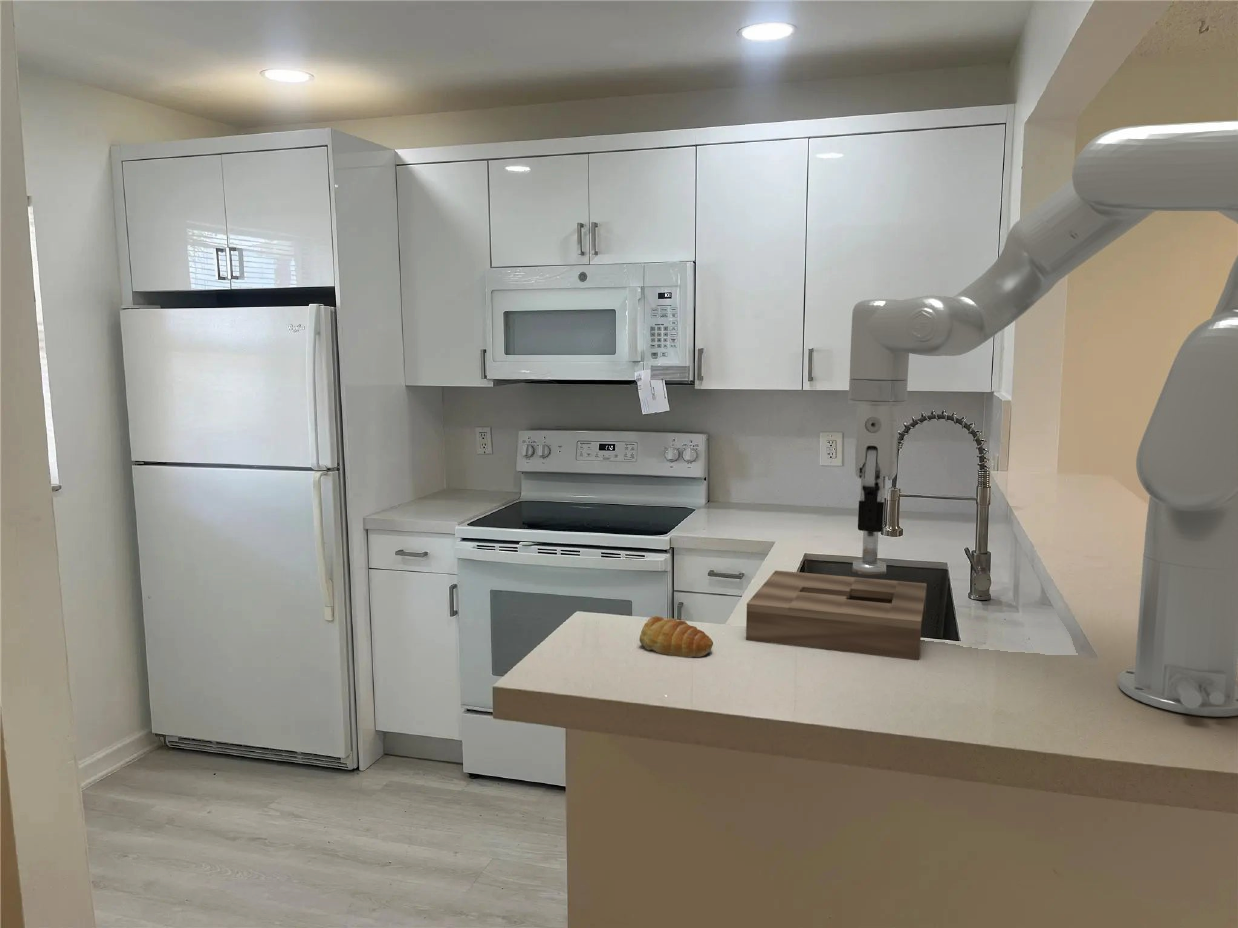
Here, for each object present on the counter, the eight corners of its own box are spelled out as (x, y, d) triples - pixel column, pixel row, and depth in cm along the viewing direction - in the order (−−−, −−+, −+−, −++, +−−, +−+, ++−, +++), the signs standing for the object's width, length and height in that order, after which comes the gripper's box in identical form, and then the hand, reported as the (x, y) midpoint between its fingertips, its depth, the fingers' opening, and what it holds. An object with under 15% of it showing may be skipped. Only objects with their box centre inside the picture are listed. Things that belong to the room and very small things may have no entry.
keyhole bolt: (884, 576, 120) (888, 491, 118) (850, 573, 121) (854, 489, 120) (887, 569, 124) (890, 487, 122) (854, 566, 125) (857, 485, 124)
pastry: (722, 650, 116) (723, 621, 115) (696, 665, 110) (696, 635, 110) (661, 637, 121) (661, 609, 120) (633, 650, 115) (633, 622, 115)
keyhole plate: (919, 659, 111) (921, 621, 111) (745, 639, 119) (746, 603, 119) (925, 616, 130) (926, 583, 129) (774, 601, 138) (775, 570, 137)
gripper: (903, 396, 110) (896, 542, 113) (910, 391, 126) (903, 520, 128) (841, 395, 113) (835, 537, 115) (855, 390, 128) (850, 516, 131)
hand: (871, 526), depth 122 cm, fingers closed on keyhole bolt, 3 cm apart
